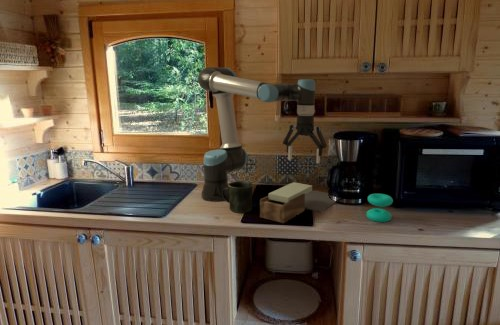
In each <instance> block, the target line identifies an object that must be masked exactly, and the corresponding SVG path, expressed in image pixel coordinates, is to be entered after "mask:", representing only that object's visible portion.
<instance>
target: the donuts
mask: <svg viewBox="0 0 500 325" xmlns="http://www.w3.org/2000/svg"><path fill="white" fill-rule="evenodd" d="M367 202H368V203H369V204H371V205H373V206H375V208H374V207H373V208H371V209H369V210H367V211H366V217H367V219H369V220H371V221H373V222H376V223H386V222H389V221H390V220H392V213H390V211H388V210H386V209H384V208H385V207H389V206H391V205H392V204H393V202H394V200H393V197H392V196H390V195H388V194H385V193H371V194H369V195H368V196H367ZM377 207H379V208H377ZM381 207H384V208H381Z"/></svg>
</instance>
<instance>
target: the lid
mask: <svg viewBox="0 0 500 325" xmlns="http://www.w3.org/2000/svg"><path fill="white" fill-rule="evenodd" d="M312 190H313V184H311V185H310V184H306V183H299V182H295V181H293V182H290V183H288V184H285V185H284V186H282V187H279V188H278V189H276V190H273V191H271V192H269V193H268V195H267V196H268V199H271V200H275V201H279V202H284V203H287V202H289V201H290V200H292V199H294V198H296V197H298V196H300V195H302V194H307V193H309V192H311V191H312Z"/></svg>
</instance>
